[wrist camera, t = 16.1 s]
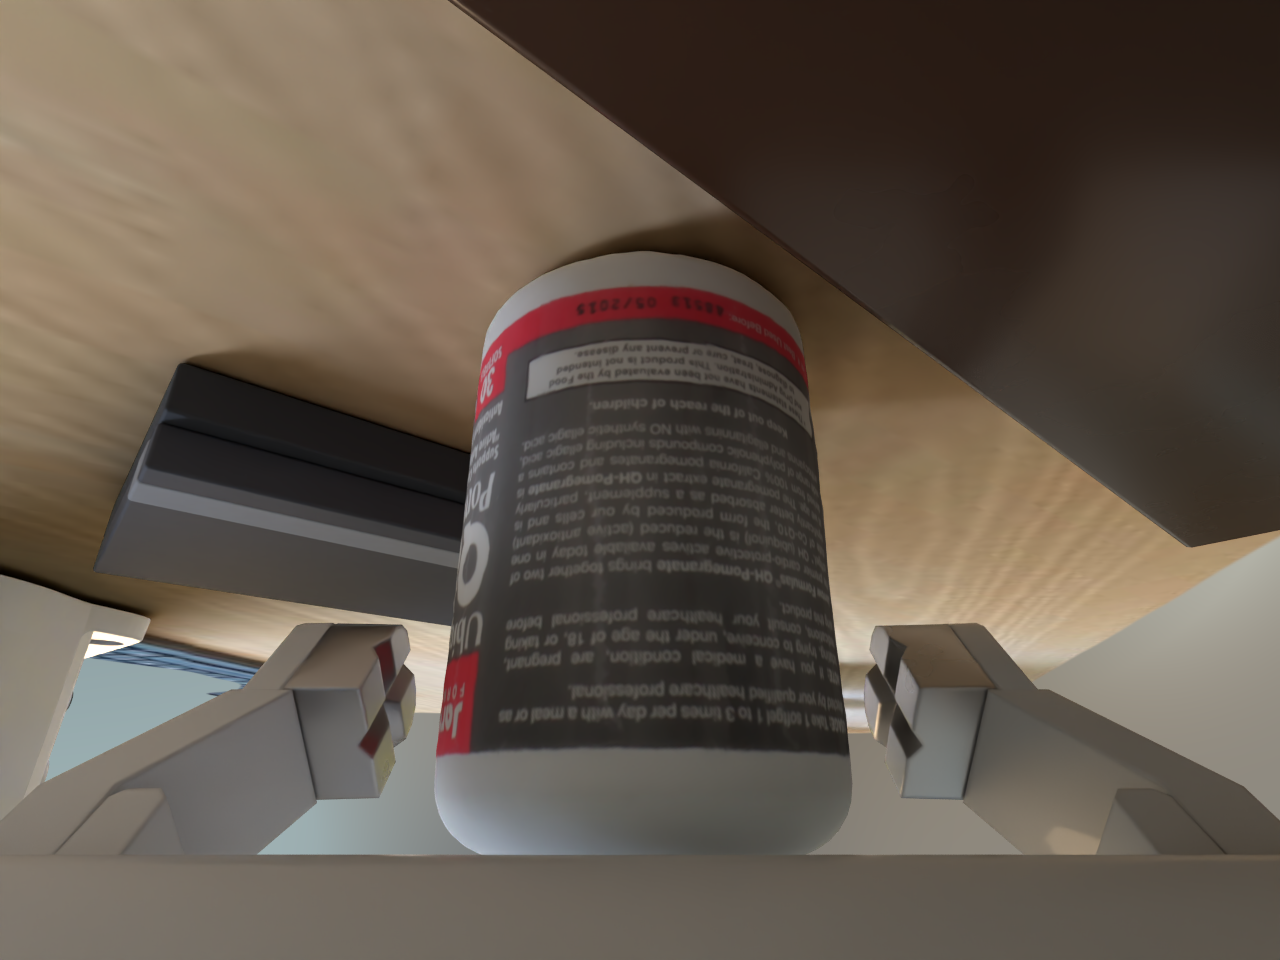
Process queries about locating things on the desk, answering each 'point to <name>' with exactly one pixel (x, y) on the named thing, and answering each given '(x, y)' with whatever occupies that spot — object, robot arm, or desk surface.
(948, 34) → the pencil box
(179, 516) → the dark gray book
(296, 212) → the desk surface
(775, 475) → the pill bottle
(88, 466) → the desk surface
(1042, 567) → the desk surface
